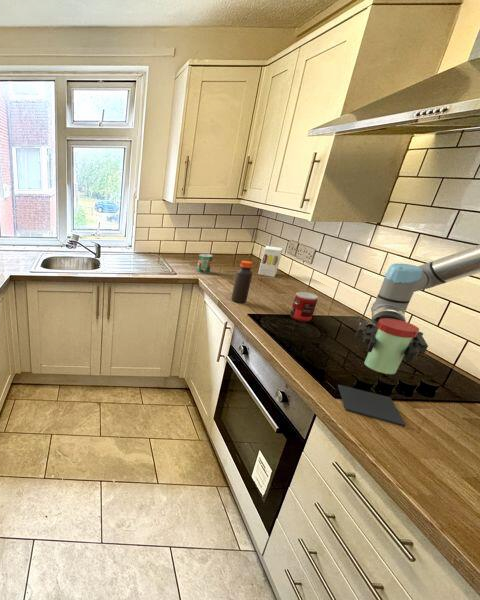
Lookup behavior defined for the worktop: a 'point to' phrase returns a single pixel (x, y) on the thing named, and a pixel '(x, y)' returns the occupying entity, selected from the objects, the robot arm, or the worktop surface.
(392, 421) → the coaster
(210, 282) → the worktop surface
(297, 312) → the canned food
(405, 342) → the jar
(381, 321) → the lid
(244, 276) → the bottle
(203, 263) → the canned tomato
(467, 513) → the worktop surface
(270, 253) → the supplement box
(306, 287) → the worktop surface
